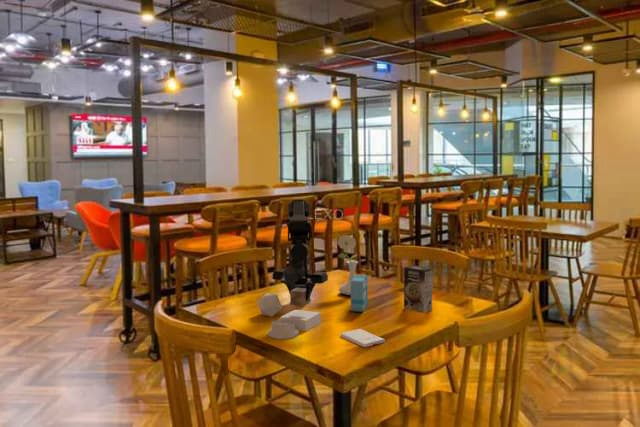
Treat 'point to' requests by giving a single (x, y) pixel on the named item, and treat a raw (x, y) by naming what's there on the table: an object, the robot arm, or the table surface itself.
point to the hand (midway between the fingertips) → (300, 300)
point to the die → (269, 304)
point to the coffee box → (418, 288)
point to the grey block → (303, 319)
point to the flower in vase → (347, 244)
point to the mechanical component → (283, 329)
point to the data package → (359, 293)
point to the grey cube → (298, 297)
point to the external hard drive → (362, 338)
